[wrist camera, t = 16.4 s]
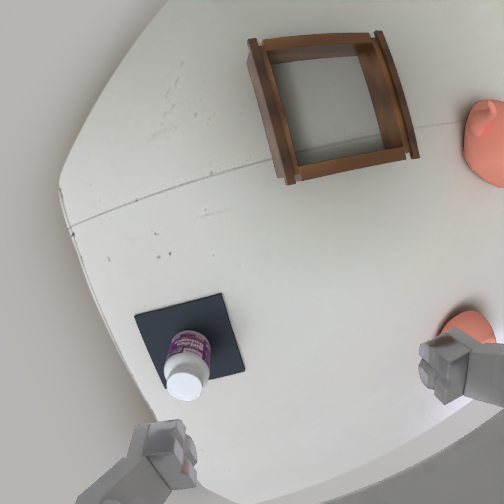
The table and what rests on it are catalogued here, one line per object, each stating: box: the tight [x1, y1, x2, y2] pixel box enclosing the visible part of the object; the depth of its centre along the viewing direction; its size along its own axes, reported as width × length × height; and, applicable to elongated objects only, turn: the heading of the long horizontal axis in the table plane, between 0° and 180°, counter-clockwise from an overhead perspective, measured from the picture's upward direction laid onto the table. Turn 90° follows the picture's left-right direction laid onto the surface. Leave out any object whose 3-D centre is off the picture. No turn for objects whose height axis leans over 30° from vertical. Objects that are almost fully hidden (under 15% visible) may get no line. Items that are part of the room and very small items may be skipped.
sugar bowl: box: [440, 311, 496, 344], centre depth 42 cm, size 12×14×10 cm
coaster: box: [134, 294, 245, 389], centre depth 41 cm, size 12×12×1 cm
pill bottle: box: [164, 330, 210, 401], centre depth 36 cm, size 5×5×10 cm
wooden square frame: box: [247, 31, 420, 185], centre depth 34 cm, size 17×18×6 cm
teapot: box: [463, 100, 504, 188], centre depth 34 cm, size 13×20×12 cm, turn 74°
